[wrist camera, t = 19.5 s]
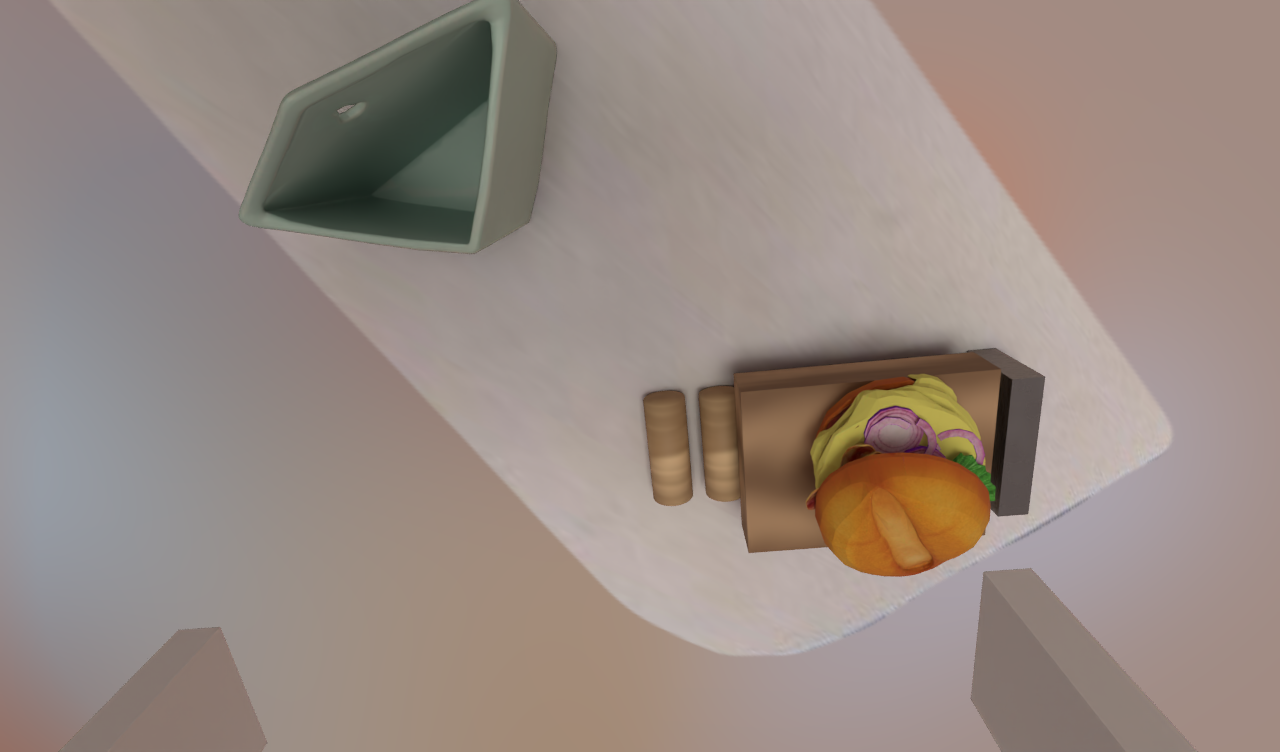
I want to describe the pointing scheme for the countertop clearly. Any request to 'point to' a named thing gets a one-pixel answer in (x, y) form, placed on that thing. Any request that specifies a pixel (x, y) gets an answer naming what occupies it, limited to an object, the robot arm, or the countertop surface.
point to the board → (791, 416)
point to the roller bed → (673, 445)
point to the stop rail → (1014, 432)
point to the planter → (415, 138)
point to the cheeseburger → (900, 477)
